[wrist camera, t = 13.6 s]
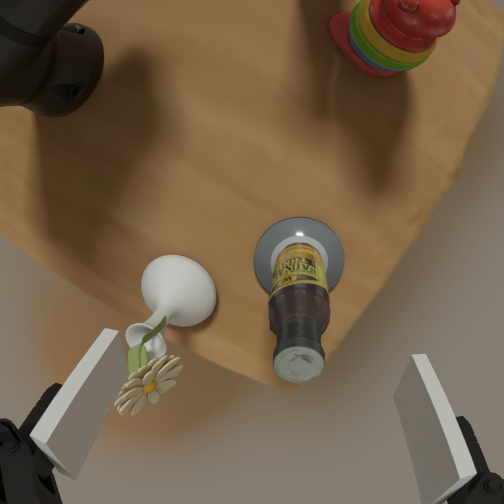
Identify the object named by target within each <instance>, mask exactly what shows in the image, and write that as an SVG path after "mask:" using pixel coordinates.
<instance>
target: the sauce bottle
mask: <svg viewBox="0 0 504 504" xmlns="http://www.w3.org/2000/svg"><path fill="white" fill-rule="evenodd" d="M329 305H330V299H329V292H328V286H327V279H326V274H325V269H324V263H323V260H322V257H321V255H320V253H319V252H318V250H317V249H316V248H315V247H314V246H312V245H310V244H308V243H303V242H297V243H296V242H295V243H293V244H289V245H287V246H286V247H285V248H284V249H283V250H282V251H281V252H280V253H279V255H278V257H277V259H276V262H275V266H274V273H273V279H272V286H271V292H270V297H269V303H268V307H269V321H270V330H271V331H272V332H273V333H274V334H275V335H276V336H277V347H276V348H275V350H274V354H273V368H274V371H275V373H276V374H277V375H278V376H279V377H280V378H282V379H283V380H285V381H288V382H292V383H305V382H308V381H311V380H313V379H315V378H316V377H318V376H319V375H320V374H321V372H322V370H323V368H324V362H325V361H324V360H325V353H324V350H323V348H322V346H321V335H322V334H323V333H324V332H325V330H326V328H327V326H328V324H329V320H330V306H329Z"/></svg>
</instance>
